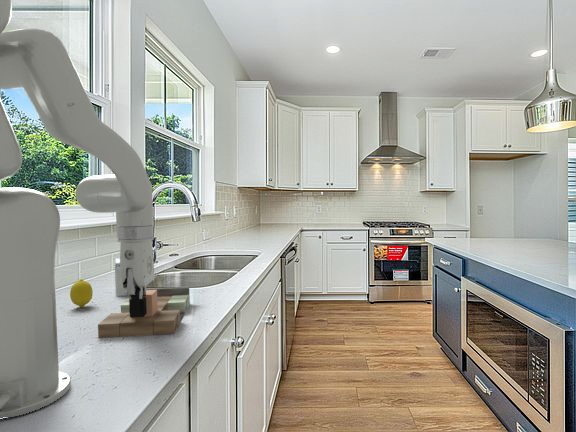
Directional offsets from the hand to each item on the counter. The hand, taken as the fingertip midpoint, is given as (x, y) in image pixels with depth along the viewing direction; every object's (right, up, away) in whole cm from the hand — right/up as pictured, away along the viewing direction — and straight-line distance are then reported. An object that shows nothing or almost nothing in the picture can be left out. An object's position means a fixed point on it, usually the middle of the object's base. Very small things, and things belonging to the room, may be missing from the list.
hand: (138, 315), depth 82 cm
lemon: (-25, -4, +22) cm, 33 cm away
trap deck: (-1, -4, +11) cm, 11 cm away
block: (-1, -1, +5) cm, 5 cm away
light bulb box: (-20, -3, +40) cm, 44 cm away
